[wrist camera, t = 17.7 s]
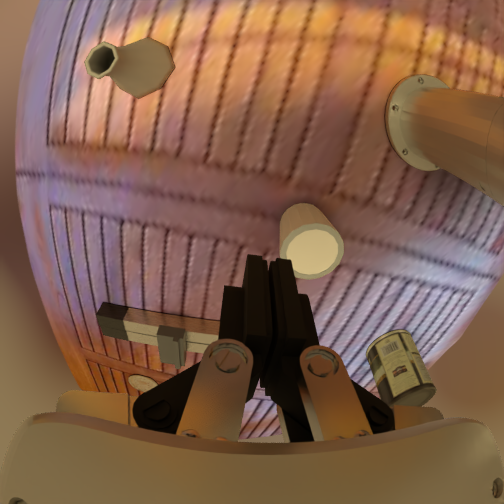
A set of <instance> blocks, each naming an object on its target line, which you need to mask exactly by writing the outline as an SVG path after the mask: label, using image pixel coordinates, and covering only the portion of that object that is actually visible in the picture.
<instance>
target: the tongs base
mask: <svg viewBox="0 0 504 504" xmlns="http://www.w3.org/2000/svg"><path fill="white" fill-rule="evenodd" d="M100 326H101V325H100ZM101 329H102V332H103V335H105V336H110V337H114V338H118V339H123V340H127V341H129V340H130V341H135V342H140V343H145V344H150V345H155V346H158V342H157V336H152V335H147V334H142V333H136V332H131V331H123V330H118V329H114V328H109V327H105V326H101ZM208 345H210V344H205V343H197V342H190V341H186V351H191V352H198V353H204V351H205V350H206V348H207V346H208Z"/></svg>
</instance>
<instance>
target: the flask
mask: <svg viewBox="0 0 504 504" xmlns="http://www.w3.org/2000/svg"><path fill="white" fill-rule="evenodd" d="M84 63H85V66H86V70H87V73H88V74H89V75H91V76H93V77H95V78H97V79H101V78H102V77H104V76H110V77H111V78H112V79H113V81H114V82H115V83H116V84H117V86H118V87H119V88H120V89H122V90H123V91H125V92H127V93H129V94H131V95H132V96H134V97H136V98H138V99H139V98H141V97H143V96H145V95H147V94H150V93H152V92H154V91H156V90H158V89H161V87H162V86H163V84H164V83H165V81H166V80H167V78H168V77H169V75H170V74H171V72H172V71H173V70H174V68H175V66H174V63H173V60H172V57H171V54H170V51H169V49H168V46H166V45H164V44H162V43H160V42H158V41H156V40H153V39H151V38H149V37H147V38H144V39H142V40H139V41H137V42H134V43H131V44H129V45H126V46H123V47H116V46H114V45H112V44H109V43H107V42H102V43H101V44H99V45H97V46H96V47H94V48H93V49H91V51H90V53H89V55H88V56H87V58H86V60H85V62H84Z"/></svg>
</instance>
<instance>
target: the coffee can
mask: <svg viewBox="0 0 504 504" xmlns="http://www.w3.org/2000/svg"><path fill="white" fill-rule="evenodd" d="M366 357H367V359H368V362H369V365H370V368H371V370H372V373H373V376H374V379H375V383H376V386H377V389H378V392H379V396H380V399H381V400H382V401H383V402H385V403H386V404H387V405H388V406H389V407H392V406H393V405H402V406H418V407H421V406H422V405H424V404H425V403H427V402H428V401H429V400H430V399H431V398H432V397H433V396H434V395H435V393H436V388H435V386H434V385H433V382H432V380H431V378H430V376H429V373H428V371H427V369H426V367H425V364H424V362H423V360H422V358H421V356H420V354H419V352H418V350H417V347H416V345H415V343H414V341H413V339H412V337H411V334H410V333H409V332H408V331H406V330H394V331H391V332H388V333H386V334H384V335H382V336H380V337H379V338H377V339H376V340H375V341H374V342H373V343H372V344H371V345H370V346H369V348H368V349H367V352H366Z"/></svg>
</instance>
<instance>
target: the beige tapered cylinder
mask: <svg viewBox="0 0 504 504" xmlns="http://www.w3.org/2000/svg"><path fill="white" fill-rule="evenodd" d="M343 254H344V242H343V240H342V238H341V236H340V234H339V233H338V231H337V230H336V229H335V228H334V226H333V225H332V224H331V223H330V222H329V220H328V219H327V218H326V217H325V216H324V214H323V213H322V212H321V211H320V210H319V209H318V208H317V207H315V206H314V205H312V204H308V203H299V204H295V205H293V206H291V207H289V208H288V209H287V210H286V211H285V212H284V214H283V215H282V217H281V221H280V257H281V258H282V259H290V260H291V261H292V266H293V271H294V275H295V277H297V278H302V279H315V278H320V277H322V276H324V275H326V274H328V273H330V272H332V271H333V270H334V268H335V267H336V266H337V265H338V264H339V263H340V261H341V258H342V256H343Z"/></svg>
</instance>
